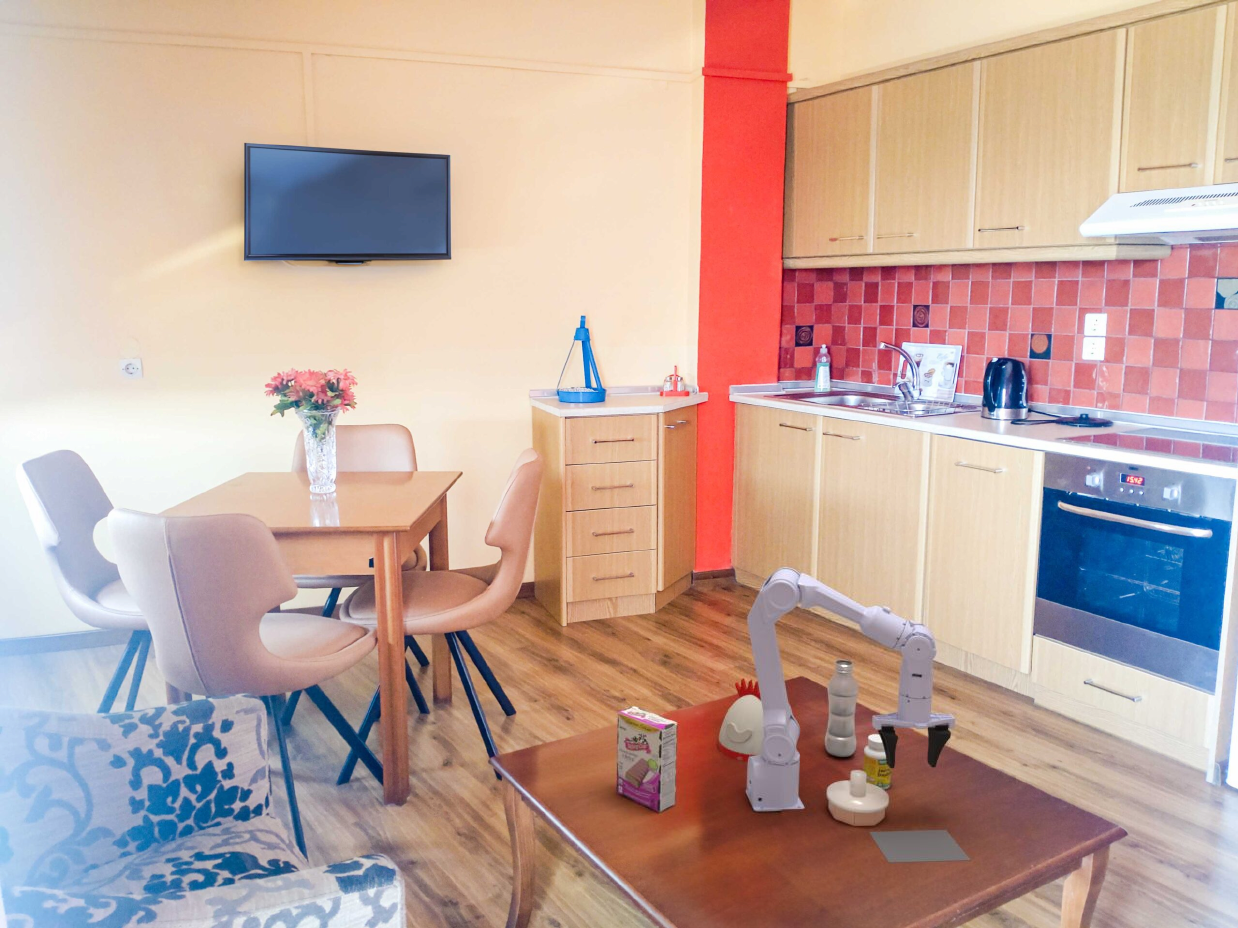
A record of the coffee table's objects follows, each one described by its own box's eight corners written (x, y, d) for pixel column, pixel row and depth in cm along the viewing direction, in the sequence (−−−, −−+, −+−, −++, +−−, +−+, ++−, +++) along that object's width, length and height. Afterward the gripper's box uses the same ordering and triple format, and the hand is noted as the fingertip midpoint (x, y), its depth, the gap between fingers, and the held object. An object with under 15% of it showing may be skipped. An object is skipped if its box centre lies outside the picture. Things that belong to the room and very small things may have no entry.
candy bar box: (614, 794, 185) (616, 711, 183) (632, 785, 189) (633, 704, 186) (659, 814, 177) (661, 728, 175) (676, 805, 181) (678, 720, 179)
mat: (888, 865, 161) (888, 862, 161) (868, 834, 171) (868, 831, 171) (970, 863, 162) (970, 859, 162) (945, 832, 172) (946, 829, 172)
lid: (840, 814, 171) (841, 788, 170) (817, 786, 182) (818, 761, 181) (899, 810, 173) (900, 785, 172) (873, 782, 184) (874, 758, 183)
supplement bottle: (875, 775, 194) (877, 730, 193) (896, 786, 190) (899, 739, 189) (856, 782, 191) (858, 736, 190) (877, 793, 187) (880, 745, 186)
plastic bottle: (860, 752, 205) (864, 660, 203) (849, 763, 200) (853, 670, 197) (830, 744, 209) (835, 655, 206) (819, 756, 203) (823, 663, 200)
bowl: (838, 828, 173) (839, 810, 173) (823, 803, 182) (824, 786, 182) (889, 827, 174) (890, 809, 173) (872, 802, 183) (873, 784, 183)
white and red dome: (738, 729, 216) (740, 664, 214) (795, 745, 208) (798, 678, 206) (706, 750, 205) (708, 682, 203) (765, 768, 197) (767, 697, 195)
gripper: (883, 702, 169) (879, 776, 171) (964, 700, 170) (959, 774, 172) (869, 687, 176) (866, 758, 178) (947, 686, 177) (943, 757, 179)
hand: (911, 765), depth 175 cm, fingers open, 7 cm apart
